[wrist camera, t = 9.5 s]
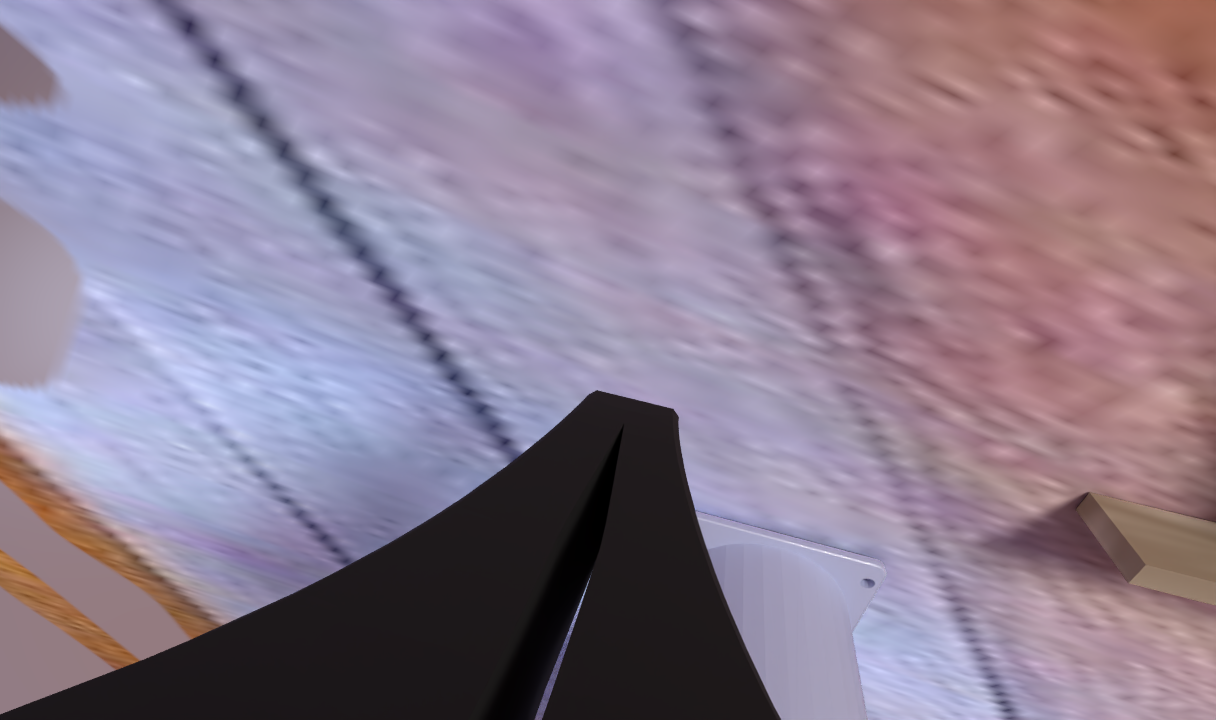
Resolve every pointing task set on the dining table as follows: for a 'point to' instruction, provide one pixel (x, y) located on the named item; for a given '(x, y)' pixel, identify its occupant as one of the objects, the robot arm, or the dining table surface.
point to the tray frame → (1155, 546)
